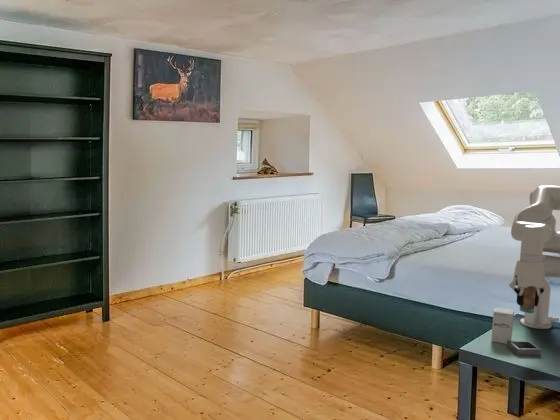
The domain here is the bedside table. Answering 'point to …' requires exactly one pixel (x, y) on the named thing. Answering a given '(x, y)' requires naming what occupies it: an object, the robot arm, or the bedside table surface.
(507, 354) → the bedside table surface
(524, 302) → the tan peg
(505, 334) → the supplement box
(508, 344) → the socket
